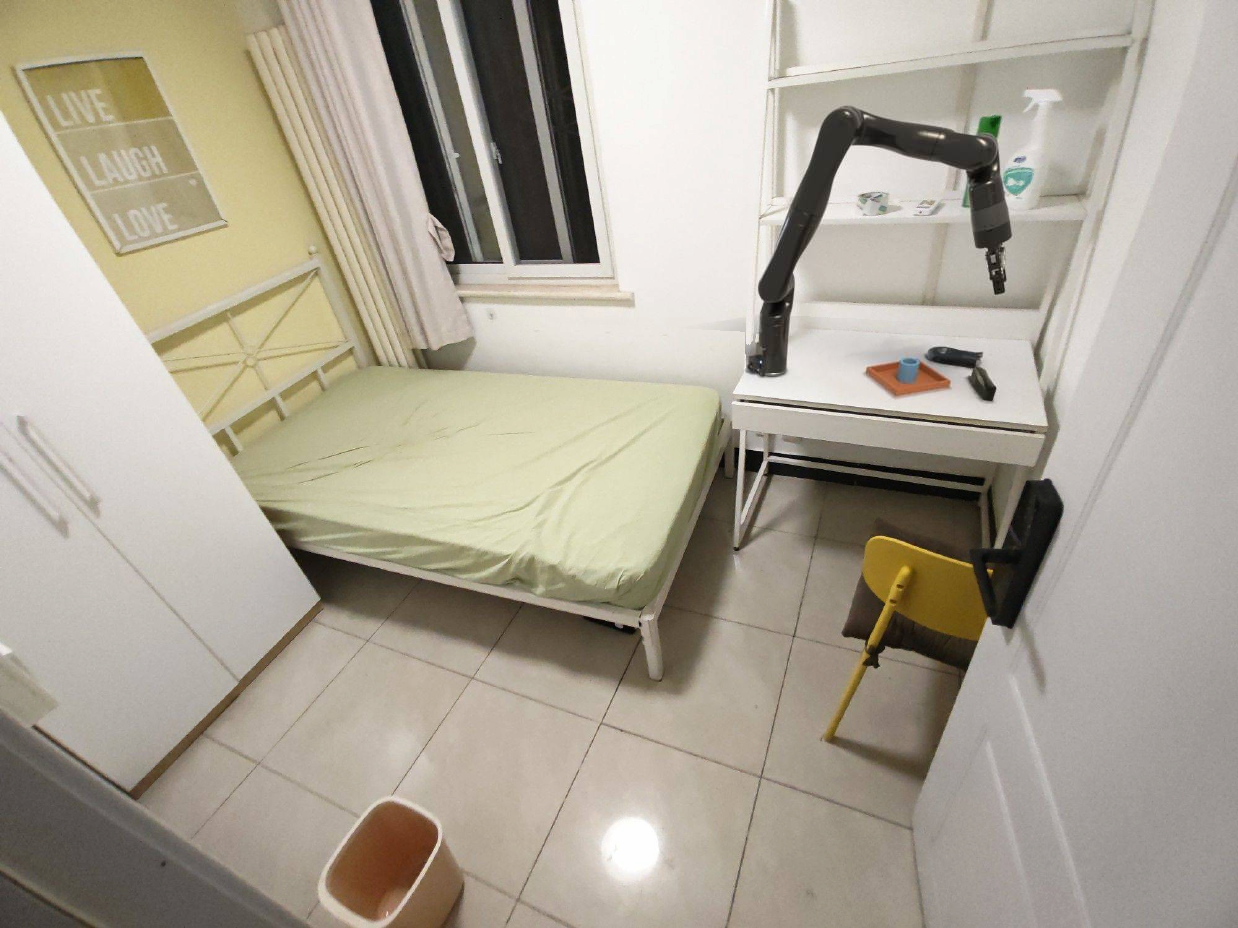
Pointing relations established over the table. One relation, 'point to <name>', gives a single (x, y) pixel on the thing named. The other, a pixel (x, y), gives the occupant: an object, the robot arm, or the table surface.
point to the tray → (924, 382)
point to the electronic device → (954, 356)
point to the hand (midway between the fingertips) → (1000, 288)
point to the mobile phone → (983, 384)
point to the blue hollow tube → (908, 370)
